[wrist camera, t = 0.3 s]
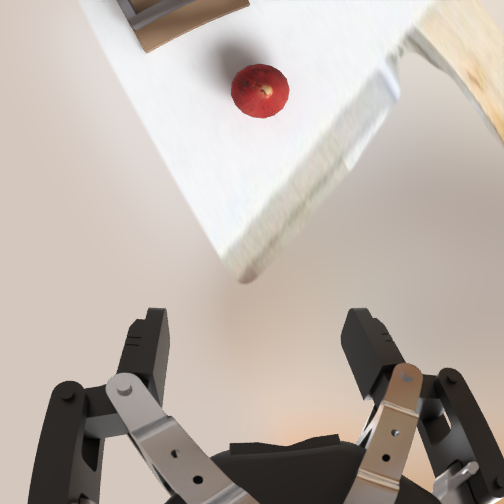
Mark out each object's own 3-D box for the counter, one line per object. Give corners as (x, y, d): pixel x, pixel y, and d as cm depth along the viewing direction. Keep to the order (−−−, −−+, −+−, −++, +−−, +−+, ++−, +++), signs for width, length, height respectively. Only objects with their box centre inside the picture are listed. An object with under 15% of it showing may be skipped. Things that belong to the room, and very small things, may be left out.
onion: (221, 101, 32) (221, 103, 25) (245, 58, 30) (252, 48, 23) (266, 124, 34) (279, 131, 27) (290, 82, 32) (309, 79, 25)
